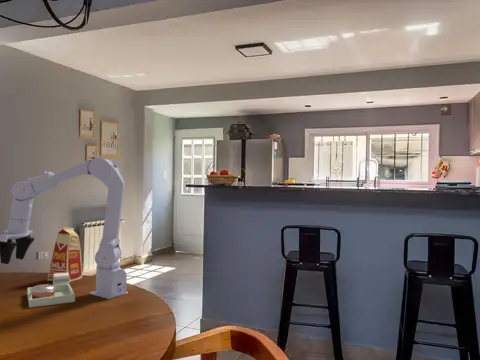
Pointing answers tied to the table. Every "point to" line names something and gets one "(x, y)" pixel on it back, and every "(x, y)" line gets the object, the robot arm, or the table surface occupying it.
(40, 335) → the table surface
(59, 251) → the milk carton
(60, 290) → the tray
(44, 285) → the tin can
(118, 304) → the table surface
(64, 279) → the tea box
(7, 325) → the table surface
